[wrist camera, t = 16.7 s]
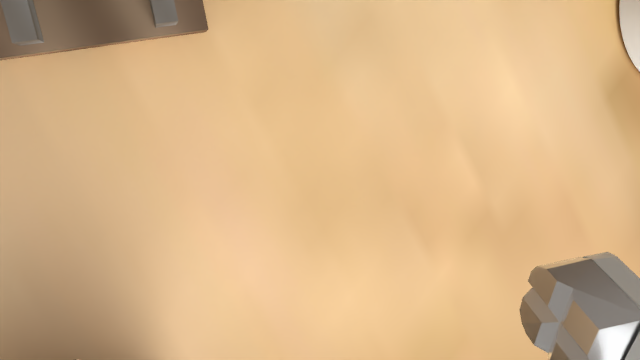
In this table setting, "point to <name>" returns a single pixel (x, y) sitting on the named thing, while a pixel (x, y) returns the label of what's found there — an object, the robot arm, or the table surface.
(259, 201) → the table surface
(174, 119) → the table surface
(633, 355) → the robot arm
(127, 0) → the rail base
